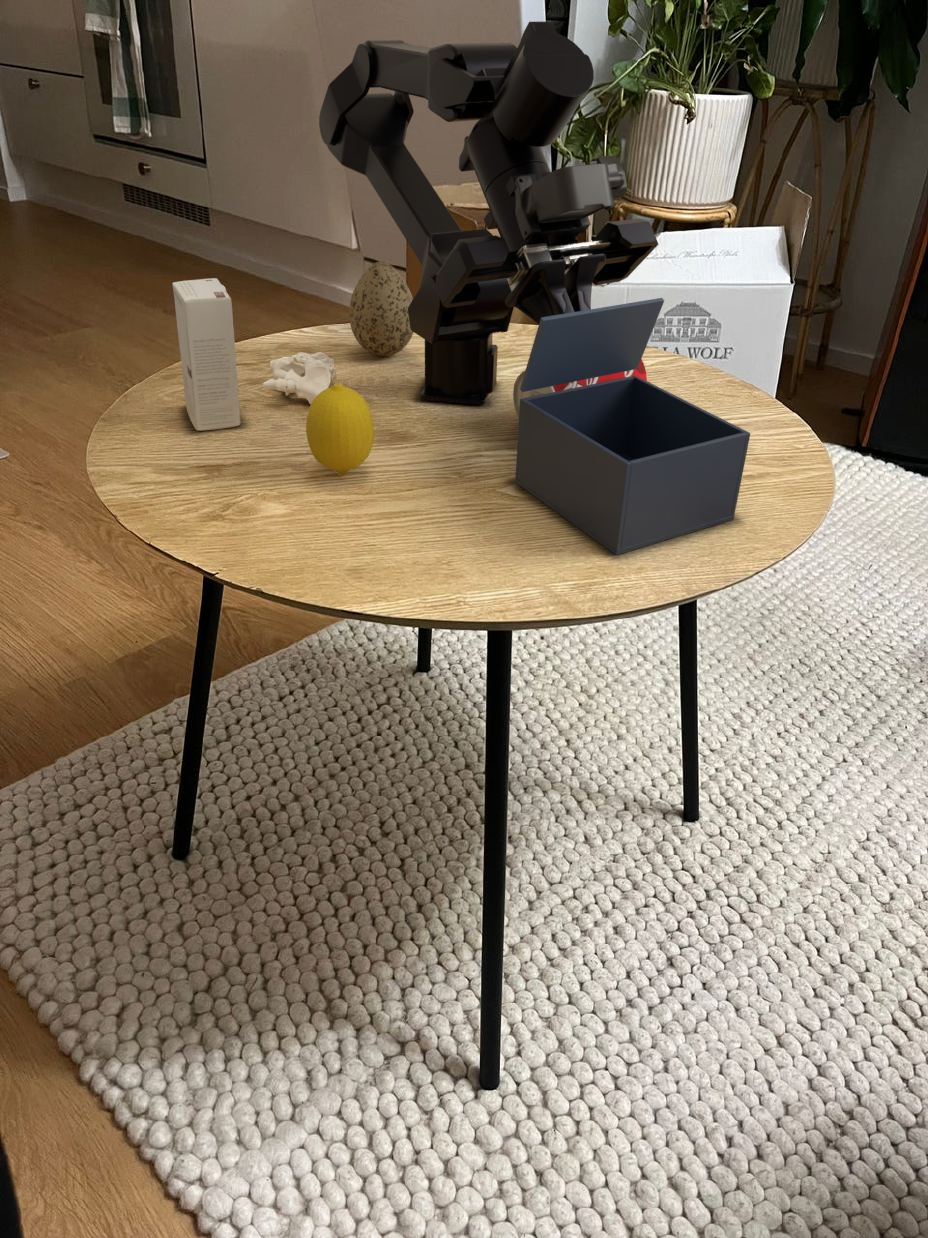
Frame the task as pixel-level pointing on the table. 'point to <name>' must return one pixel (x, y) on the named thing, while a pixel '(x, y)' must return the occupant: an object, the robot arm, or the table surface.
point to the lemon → (340, 429)
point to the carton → (629, 461)
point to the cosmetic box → (207, 353)
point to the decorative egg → (381, 310)
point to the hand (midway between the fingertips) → (585, 355)
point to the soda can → (572, 384)
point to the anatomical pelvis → (302, 375)
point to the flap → (590, 343)
